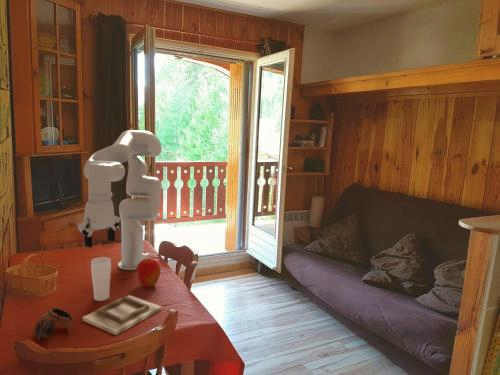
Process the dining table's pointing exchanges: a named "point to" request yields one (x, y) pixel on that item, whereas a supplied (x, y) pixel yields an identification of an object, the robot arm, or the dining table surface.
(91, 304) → the dining table surface
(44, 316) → the pottery mug
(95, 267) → the drinking glass
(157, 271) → the apple
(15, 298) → the dining table surface
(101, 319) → the locating board
